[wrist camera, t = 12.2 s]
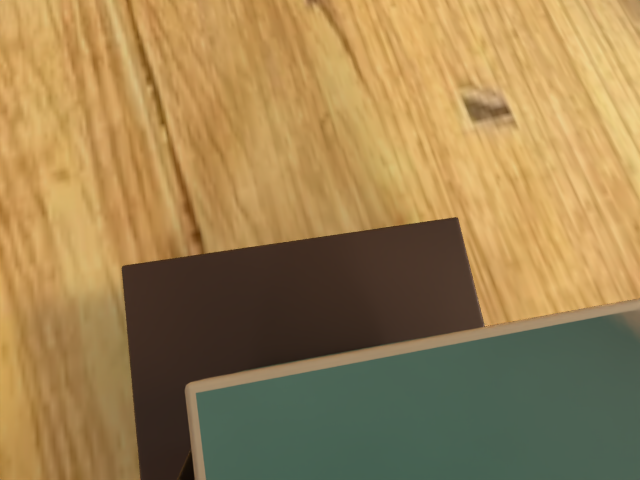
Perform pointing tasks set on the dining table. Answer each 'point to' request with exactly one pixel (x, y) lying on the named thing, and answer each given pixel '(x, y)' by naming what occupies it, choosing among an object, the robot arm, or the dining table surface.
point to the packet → (436, 407)
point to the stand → (282, 314)
